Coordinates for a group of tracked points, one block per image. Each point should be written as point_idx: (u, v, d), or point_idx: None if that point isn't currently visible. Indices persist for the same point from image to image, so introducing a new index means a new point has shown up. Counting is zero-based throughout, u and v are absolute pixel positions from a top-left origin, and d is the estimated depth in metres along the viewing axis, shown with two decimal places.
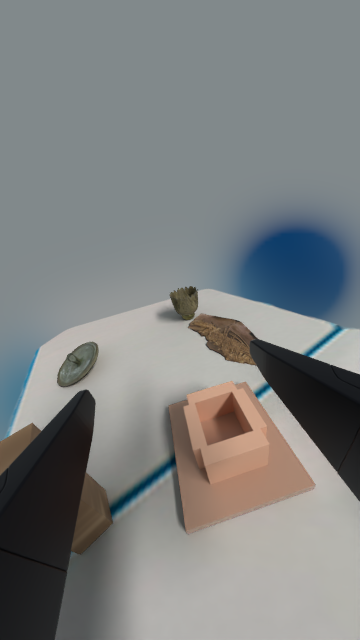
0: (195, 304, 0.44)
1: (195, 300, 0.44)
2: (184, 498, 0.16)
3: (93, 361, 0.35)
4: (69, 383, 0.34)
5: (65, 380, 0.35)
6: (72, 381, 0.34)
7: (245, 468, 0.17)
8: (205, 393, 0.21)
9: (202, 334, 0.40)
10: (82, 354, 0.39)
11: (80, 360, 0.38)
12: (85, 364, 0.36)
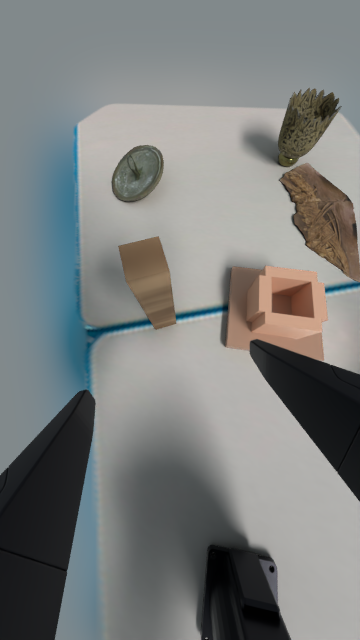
0: (315, 141, 0.28)
1: (321, 132, 0.27)
2: (230, 331, 0.23)
3: (157, 180, 0.29)
4: (128, 199, 0.30)
5: (122, 193, 0.31)
6: (132, 197, 0.30)
7: (283, 334, 0.21)
8: (284, 272, 0.21)
9: (294, 199, 0.30)
10: (141, 163, 0.31)
11: (139, 171, 0.30)
12: (146, 180, 0.30)
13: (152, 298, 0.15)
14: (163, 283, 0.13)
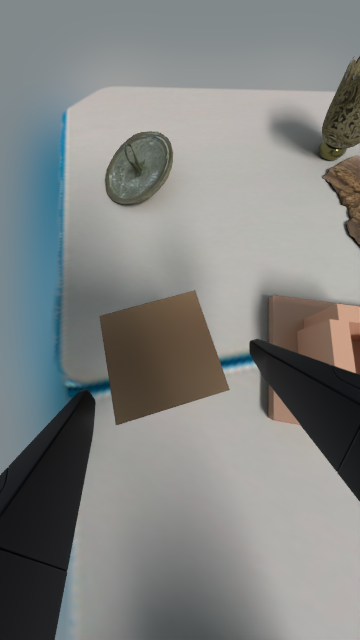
0: None
1: None
2: (276, 396, 0.15)
3: (165, 177, 0.22)
4: (126, 201, 0.23)
5: (119, 193, 0.24)
6: (131, 200, 0.23)
7: None
8: None
9: (345, 202, 0.23)
10: (142, 155, 0.24)
11: (140, 166, 0.23)
12: (149, 177, 0.23)
13: None
14: None
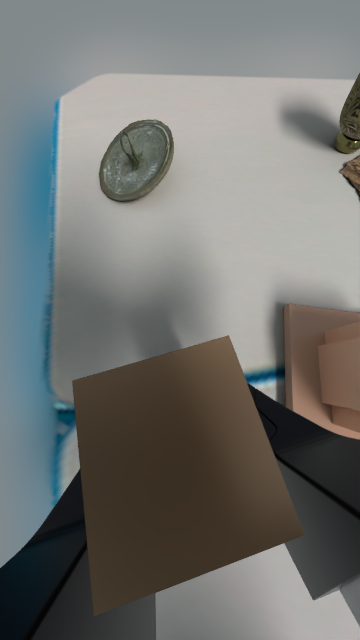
0: None
1: None
2: None
3: (165, 170, 0.19)
4: (123, 197, 0.21)
5: (114, 189, 0.21)
6: (128, 196, 0.21)
7: None
8: None
9: None
10: (140, 146, 0.21)
11: (138, 158, 0.21)
12: (148, 170, 0.21)
13: None
14: None
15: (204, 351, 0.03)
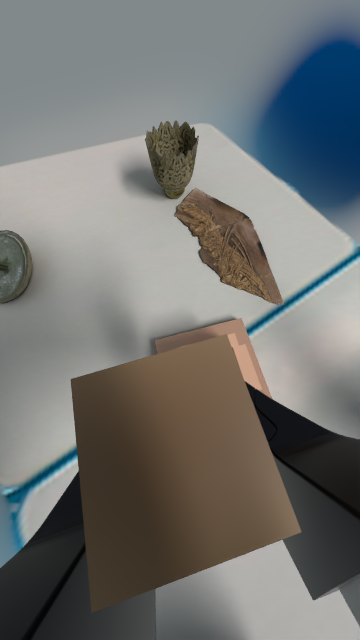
0: (190, 172, 0.26)
1: (191, 164, 0.25)
2: None
3: (28, 270, 0.24)
4: (4, 300, 0.25)
5: None
6: (8, 298, 0.24)
7: None
8: None
9: (195, 233, 0.28)
10: (3, 252, 0.25)
11: (4, 263, 0.25)
12: (16, 272, 0.25)
13: None
14: None
15: (202, 349, 0.03)
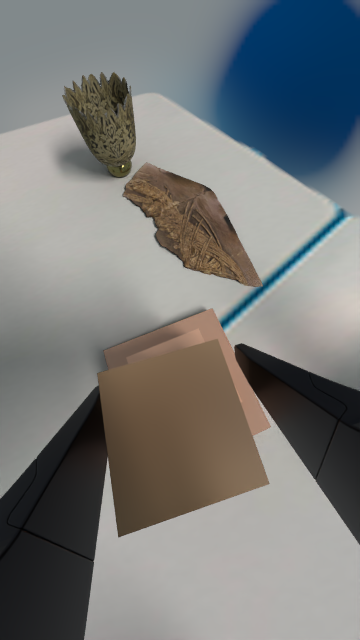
0: (130, 138, 0.21)
1: (129, 125, 0.20)
2: None
3: None
4: None
5: None
6: None
7: None
8: (156, 353, 0.13)
9: (148, 213, 0.23)
10: None
11: None
12: None
13: None
14: None
15: (198, 350, 0.04)
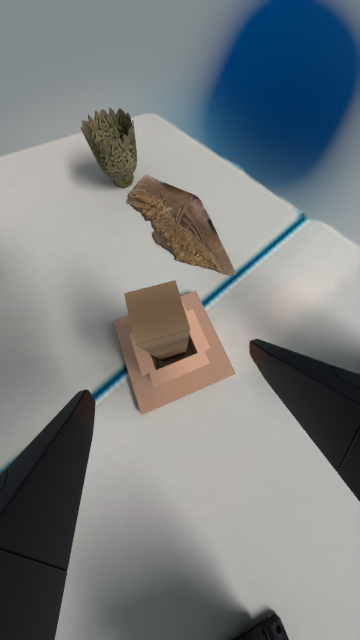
0: (132, 158, 0.27)
1: (131, 149, 0.26)
2: (138, 396, 0.20)
3: None
4: None
5: None
6: None
7: None
8: None
9: (147, 217, 0.29)
10: None
11: None
12: None
13: (164, 347, 0.12)
14: (180, 337, 0.11)
15: (166, 284, 0.10)
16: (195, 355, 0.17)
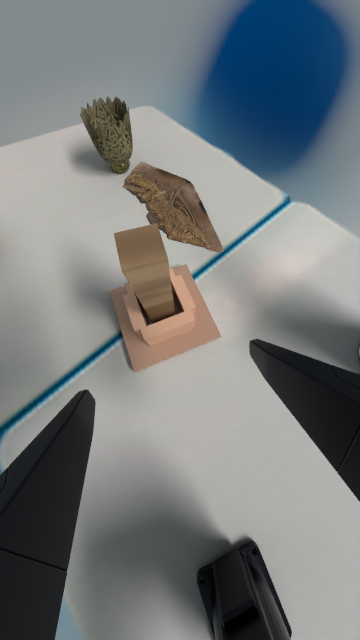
0: (128, 143, 0.29)
1: (127, 135, 0.28)
2: (131, 356, 0.22)
3: None
4: None
5: None
6: None
7: (176, 334, 0.22)
8: None
9: (142, 200, 0.31)
10: None
11: None
12: None
13: (150, 291, 0.14)
14: (161, 274, 0.12)
15: (149, 226, 0.12)
16: (182, 313, 0.19)
